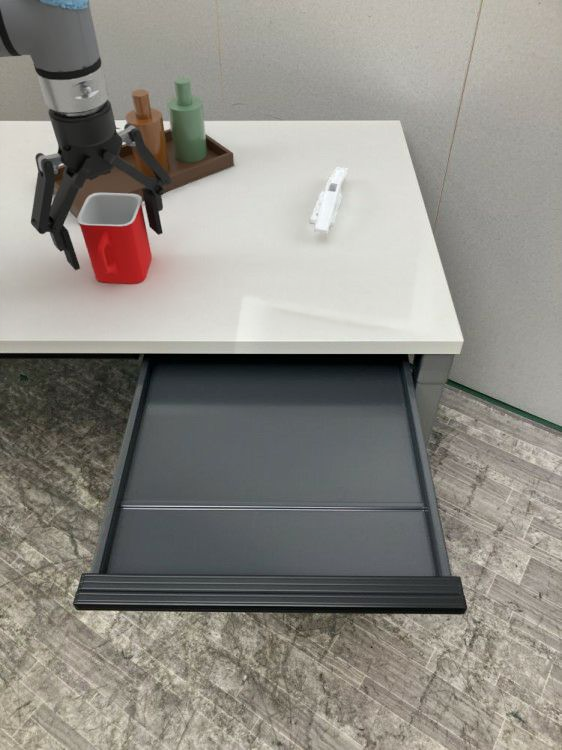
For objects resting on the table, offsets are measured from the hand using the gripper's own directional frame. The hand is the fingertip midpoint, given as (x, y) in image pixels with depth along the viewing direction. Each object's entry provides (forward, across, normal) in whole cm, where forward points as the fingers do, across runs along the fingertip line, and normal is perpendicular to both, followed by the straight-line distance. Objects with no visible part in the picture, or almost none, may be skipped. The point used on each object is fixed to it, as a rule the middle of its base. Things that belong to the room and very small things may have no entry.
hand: (116, 247), depth 88 cm
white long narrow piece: (+6, +37, -6) cm, 38 cm away
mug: (+6, 0, 0) cm, 6 cm away
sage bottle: (+5, +28, +24) cm, 37 cm away
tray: (+5, +17, +24) cm, 30 cm away
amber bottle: (+5, +19, +24) cm, 31 cm away
